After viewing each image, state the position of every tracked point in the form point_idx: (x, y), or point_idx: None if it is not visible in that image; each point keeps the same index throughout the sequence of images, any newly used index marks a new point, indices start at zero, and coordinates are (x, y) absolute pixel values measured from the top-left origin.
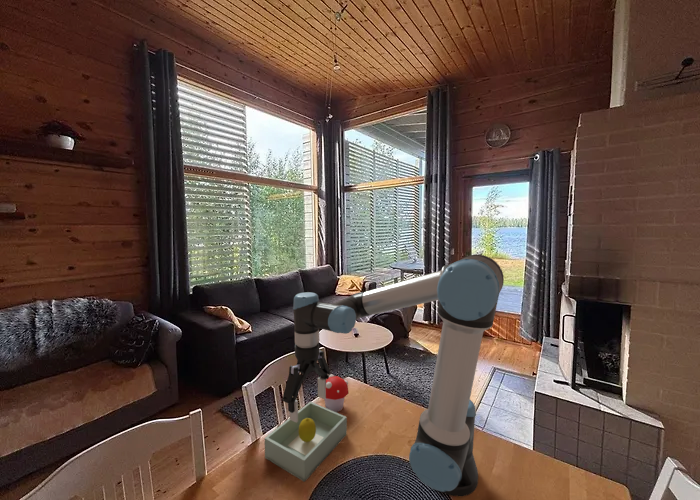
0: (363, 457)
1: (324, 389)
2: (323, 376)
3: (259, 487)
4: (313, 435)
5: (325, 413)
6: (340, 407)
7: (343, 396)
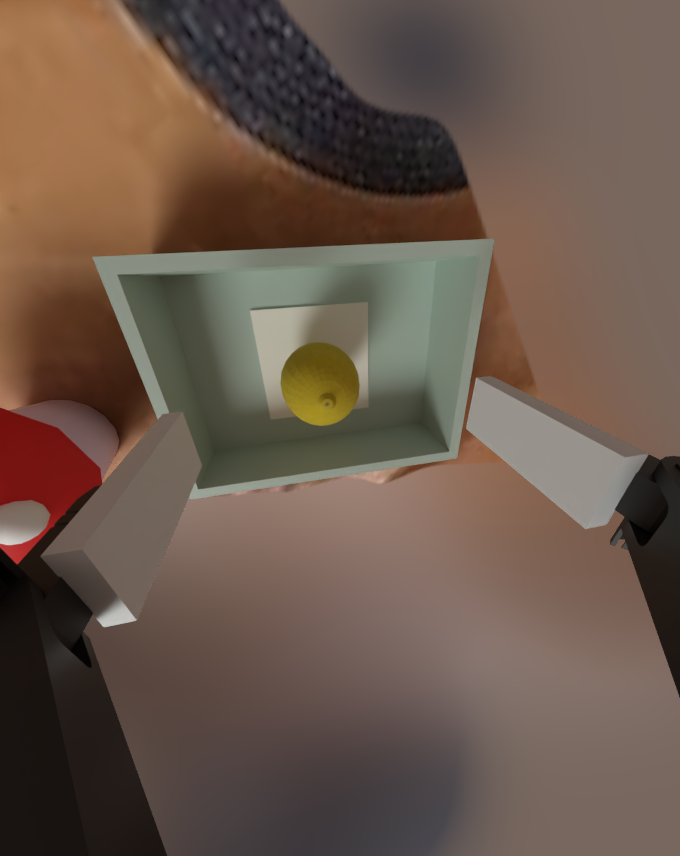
0: (185, 62)
1: (143, 459)
2: (39, 625)
3: (503, 356)
4: (318, 342)
5: (175, 399)
6: (51, 403)
7: None
